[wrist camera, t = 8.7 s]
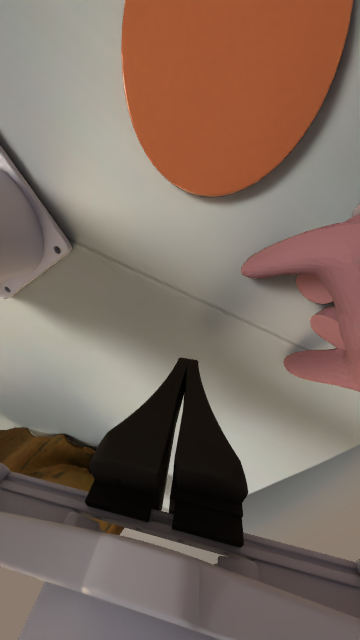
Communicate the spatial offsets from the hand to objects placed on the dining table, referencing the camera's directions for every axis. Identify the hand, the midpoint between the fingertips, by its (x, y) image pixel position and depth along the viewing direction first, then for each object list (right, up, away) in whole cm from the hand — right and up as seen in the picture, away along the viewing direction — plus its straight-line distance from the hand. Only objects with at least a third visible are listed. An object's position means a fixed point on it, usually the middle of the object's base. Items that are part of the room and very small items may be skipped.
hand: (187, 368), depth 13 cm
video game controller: (+8, +5, -1) cm, 10 cm away
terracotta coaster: (+1, +15, -5) cm, 15 cm away
